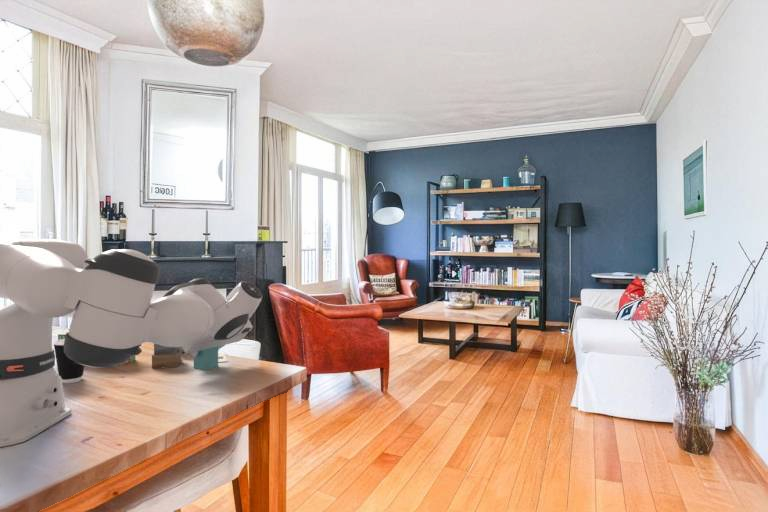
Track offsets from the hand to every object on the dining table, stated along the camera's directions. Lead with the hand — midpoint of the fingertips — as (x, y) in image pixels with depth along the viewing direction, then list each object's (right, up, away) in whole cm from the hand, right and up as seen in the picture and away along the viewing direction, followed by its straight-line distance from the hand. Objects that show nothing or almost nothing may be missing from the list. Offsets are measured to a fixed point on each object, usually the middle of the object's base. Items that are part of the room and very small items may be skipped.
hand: (204, 352), depth 138 cm
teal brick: (+1, -4, 0) cm, 4 cm away
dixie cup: (-31, -5, -14) cm, 34 cm away
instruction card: (-1, -4, +9) cm, 10 cm away
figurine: (-62, -3, +34) cm, 71 cm away
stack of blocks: (-36, -4, +5) cm, 36 cm away
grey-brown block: (-12, -4, +2) cm, 13 cm away
